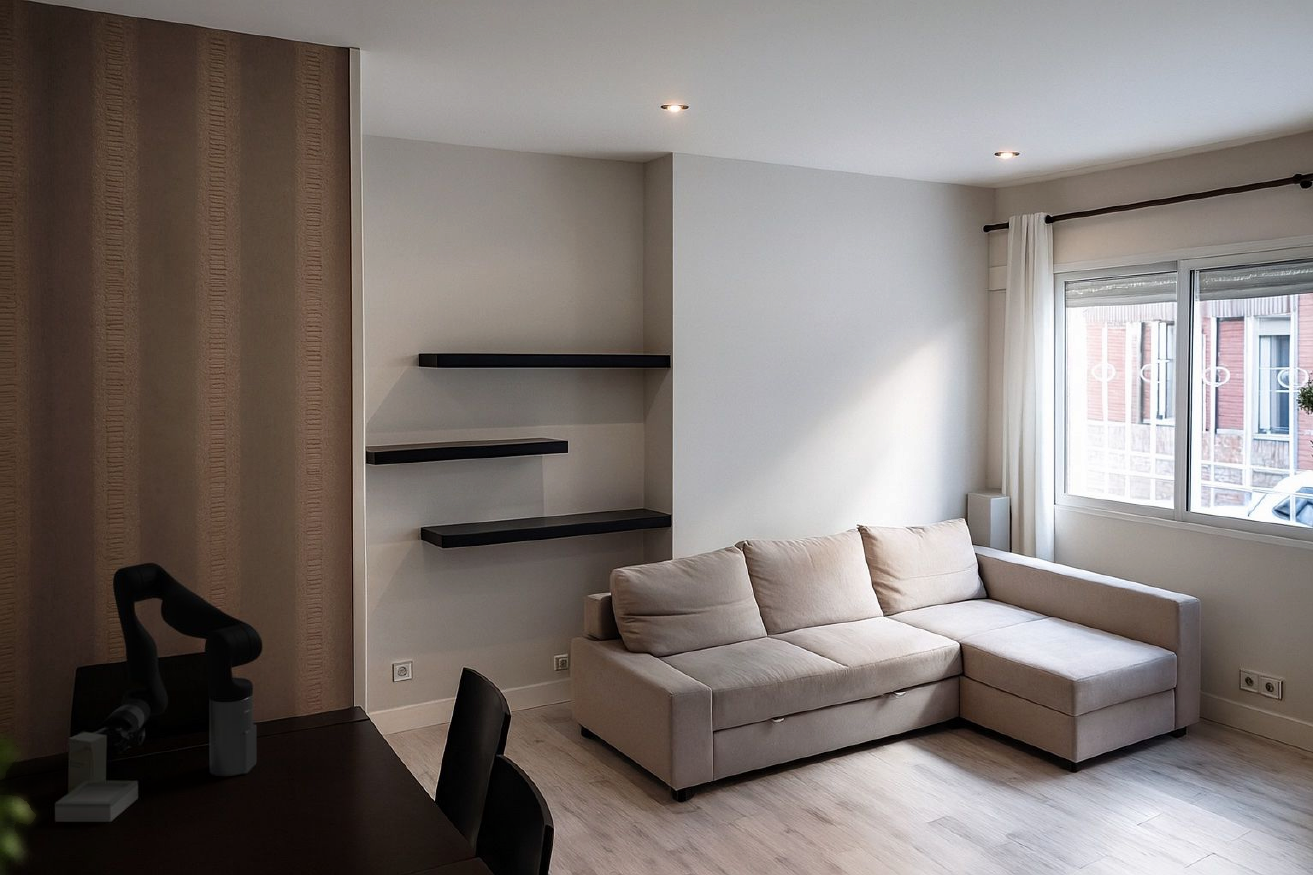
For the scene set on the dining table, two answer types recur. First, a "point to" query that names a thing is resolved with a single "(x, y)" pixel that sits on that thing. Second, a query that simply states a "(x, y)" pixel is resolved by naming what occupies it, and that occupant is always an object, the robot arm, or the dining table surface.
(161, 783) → the dining table surface
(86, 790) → the shallow open tray
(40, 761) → the dining table surface
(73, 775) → the skincare box
